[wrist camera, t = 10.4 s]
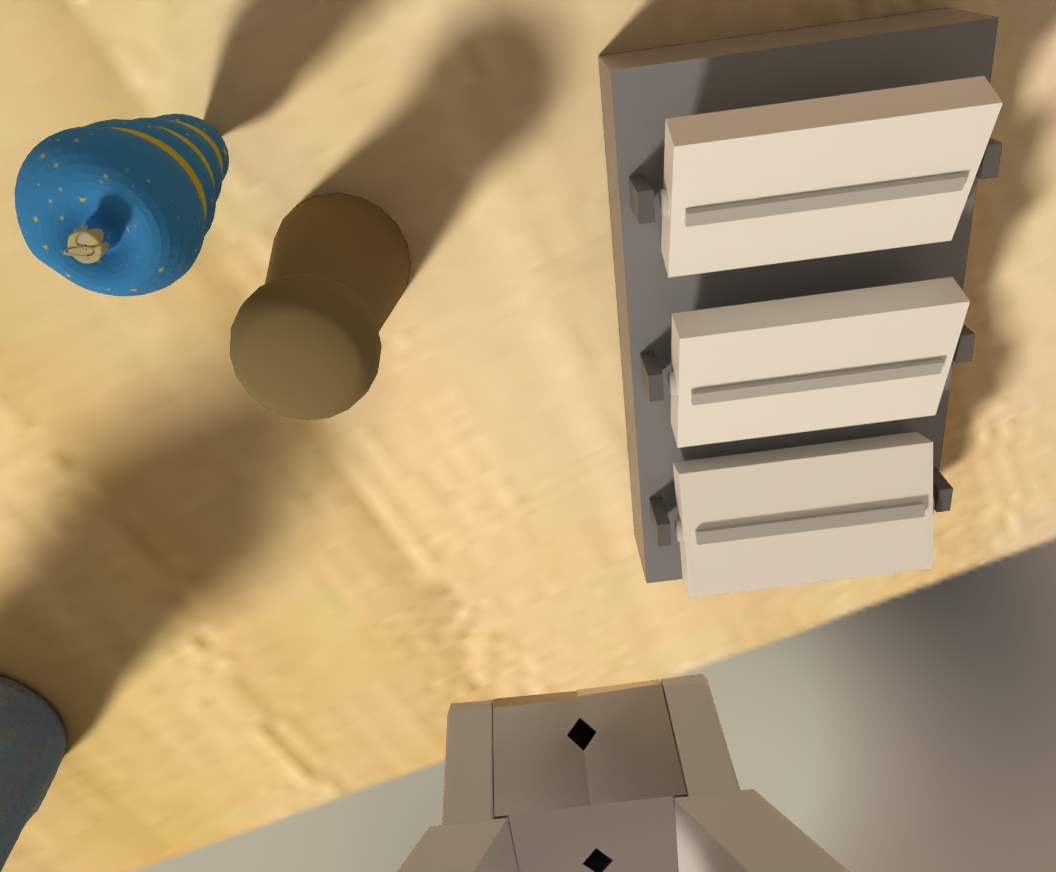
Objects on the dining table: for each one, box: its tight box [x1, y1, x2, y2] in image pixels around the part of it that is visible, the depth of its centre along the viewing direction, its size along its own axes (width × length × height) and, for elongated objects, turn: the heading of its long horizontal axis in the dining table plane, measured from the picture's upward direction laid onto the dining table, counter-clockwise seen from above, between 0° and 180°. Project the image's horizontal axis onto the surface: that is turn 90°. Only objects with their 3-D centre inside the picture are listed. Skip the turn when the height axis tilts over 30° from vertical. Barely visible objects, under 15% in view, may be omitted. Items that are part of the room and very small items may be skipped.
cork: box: [230, 193, 411, 420], centre depth 35 cm, size 6×6×11 cm
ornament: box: [15, 114, 229, 296], centre depth 30 cm, size 5×5×15 cm
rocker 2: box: [668, 277, 970, 448], centre depth 36 cm, size 6×11×2 cm, turn 97°
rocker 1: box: [659, 76, 1003, 278], centre depth 33 cm, size 6×11×2 cm, turn 96°
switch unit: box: [598, 8, 1002, 583], centre depth 39 cm, size 24×14×6 cm, turn 7°
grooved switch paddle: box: [673, 432, 934, 598], centre depth 40 cm, size 6×11×2 cm, turn 97°
